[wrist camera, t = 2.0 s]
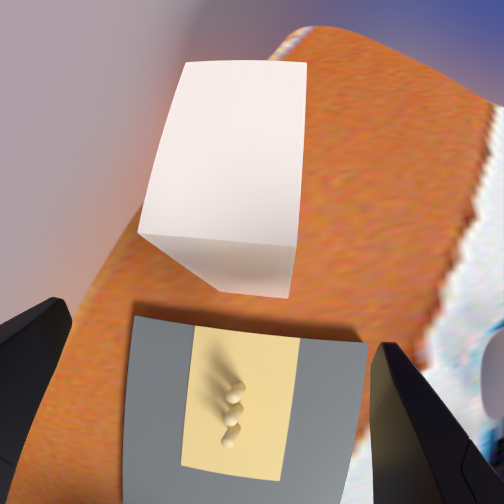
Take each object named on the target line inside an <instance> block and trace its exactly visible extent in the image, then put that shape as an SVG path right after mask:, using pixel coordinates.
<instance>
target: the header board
mask: <svg viewBox="0 0 504 504" xmlns="http://www.w3.org/2000/svg"><path fill="white" fill-rule="evenodd" d="M367 352H368V343H365V342H348V341H333V340H319V339H307V338H296V337H285V336H275V335H266V334H257V333H248V332H240V331H232V330H224V329H217V328H210V327H203V326H196V325H189V324H183V323H177V322H170V321H164V320H159V319H153V318H147V317H141V316H135V315H134V323H133V330H132V338H131V347H130V356H129V366H128V376H127V388H126V401H125V417H124V438H123V504H340V501H341V497H342V494H343V490H344V486H345V481H346V477H347V473H348V468H349V464H350V459H351V455H352V450H353V445H354V440H355V434H356V429H357V423H358V417H359V411H360V405H361V399H362V392H363V385H364V377H365V370H366V361H367Z"/></svg>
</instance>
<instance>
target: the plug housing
mask: <svg viewBox="0 0 504 504" xmlns="http://www.w3.org/2000/svg"><path fill="white" fill-rule="evenodd" d="M306 71H307V63H302V62H286V61H257V60H232V61H231V60H230V61H203V62H186V64H185V67H184V69H183V72H182V75H181V78H180V81H179V84H178V86H177V89H176V92H175V95H174V98H173V101H172V104H171V107H170V110H169V113H168V117H167V120H166V123H165V126H164V130H163V133H162V136H161V140H160V143H159V147H158V150H157V154H156V157H155V161H154V165H153V169H152V172H151V176H150V180H149V184H148V188H147V192H146V196H145V200H144V205H143V209H142V213H141V218H140V222H139V227H138V232H137V233H138V234H139V235H141V236H142V237H143V238H145V239H146V240H147V241H149V242H150V243H151V244H153V245H154V246H156V247H157V248H158V249H160V250H161V251H163V252H164V253H165V254H167V255H168V256H170V257H171V258H172V259H174V260H175V261H177V262H178V263H179V264H181V265H182V266H184V267H185V268H186V269H188V270H189V271H191V272H192V273H194V274H195V275H196V276H198V277H199V278H201V279H202V280H204V281H205V282H206V283H208V284H209V285H211V286H212V287H214V288H215V289H217V290H218V291H220V292H228V293H237V294H246V295H255V296H265V297H275V298H285V299H288V296H289V290H290V284H291V278H292V272H293V265H294V259H295V253H296V246H297V234H298V221H299V208H300V194H301V179H302V163H303V145H304V125H305V101H306Z"/></svg>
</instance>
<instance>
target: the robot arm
mask: <svg viewBox="0 0 504 504" xmlns="http://www.w3.org/2000/svg"><path fill="white" fill-rule="evenodd" d="M71 327H72V318H71V315H70V313H69V310H68V308H67V305H66V303H65V301H64V300H63V299H60V298H56V297H51V298H49V299H47V300H45V301H43V302H42V303H40V304H38V305H36V306H34V307H32V308H30V309H28V310H27V311H25V312H23V313H21V314H19V315H17V316H15V317H14V318H12V319H10V320H8V321H6V322H4V323H3V324H1V325H0V504H6V500H7V496H8V493H9V489H10V486H11V483H12V480H13V476H14V473H15V470H16V469H15V468H16V467H17V463H18V461H19V458H20V455H21V452H22V449H23V446H24V444H25V441H26V438H27V435H28V433H29V430H30V428H31V425H32V422H33V420H34V417H35V415H36V413H37V410H38V408H39V405H40V403H41V401H42V398H43V396H44V394H45V391H46V389H47V387H48V384H49V382H50V380H51V378H52V376H53V373H54V371H55V369H56V367H57V364H58V362H59V359H60V356H61V353H62V351H63V348H64V345H65V343H66V340H67V337H68V335H69V332H70V330H71ZM370 434H371V449H372V468H373V500H374V504H504V481H503V480H502V479H501V478H500V476H499V475H498V474H497V473H496V472H495V470H494V469H493V468H492V467H491V466H490V464H489V463H488V462H487V460H486V459H485V458H484V456H483V455H482V454H481V452H480V451H479V450H478V448H477V447H476V446H475V444H474V443H473V441H472V440H471V439H469V436H468V435H467V433H466V432H465V431H464V429H463V428H462V427H461V425H460V424H459V422H458V421H457V420H456V418H455V417H454V416H453V414H452V413H451V412H450V410H449V409H448V408H447V406H446V405H445V404H444V402H443V401H442V400H441V399H440V397H439V396H438V395H437V393H436V392H435V391H434V389H433V388H432V387H431V386H430V384H429V383H428V382H427V380H426V379H425V378H424V377H423V375H422V374H421V373H420V371H419V370H418V369H417V368H416V366H415V365H414V364H413V363H412V361H411V360H410V359H409V358H408V356H407V355H406V354H405V353H404V351H403V350H402V349H401V348H400V346H399V345H398V344H397V343H395V342H381V343H380V345H379V346H378V349H377V351H376V354H375V356H374V359H373V361H372V364H371V386H370Z"/></svg>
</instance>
